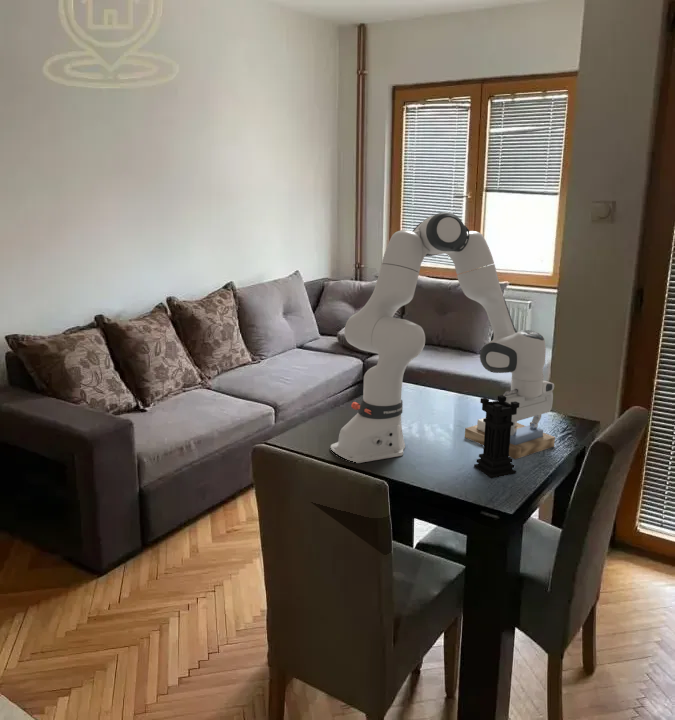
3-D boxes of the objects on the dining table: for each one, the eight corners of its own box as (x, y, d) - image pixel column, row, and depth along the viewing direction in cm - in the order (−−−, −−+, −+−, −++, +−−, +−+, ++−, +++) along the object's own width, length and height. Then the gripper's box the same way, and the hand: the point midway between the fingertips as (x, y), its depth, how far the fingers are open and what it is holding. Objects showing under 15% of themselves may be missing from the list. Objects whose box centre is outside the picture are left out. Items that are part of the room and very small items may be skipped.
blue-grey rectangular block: (514, 448, 195) (515, 438, 194) (501, 442, 199) (502, 433, 198) (542, 439, 202) (543, 430, 201) (529, 434, 206) (529, 425, 205)
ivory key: (489, 434, 203) (489, 424, 202) (477, 429, 207) (477, 419, 206) (516, 426, 209) (517, 417, 209) (504, 421, 213) (504, 412, 213)
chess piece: (491, 478, 180) (496, 407, 175) (473, 467, 187) (478, 398, 182) (515, 473, 183) (521, 403, 178) (497, 462, 190) (503, 394, 185)
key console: (515, 459, 192) (516, 449, 192) (464, 437, 208) (465, 428, 207) (554, 446, 202) (555, 437, 201) (502, 426, 218) (503, 417, 217)
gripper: (510, 395, 188) (506, 442, 192) (558, 383, 199) (553, 427, 203) (493, 389, 193) (490, 435, 197) (540, 378, 204) (537, 421, 208)
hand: (523, 431), depth 200 cm, fingers open, 8 cm apart
